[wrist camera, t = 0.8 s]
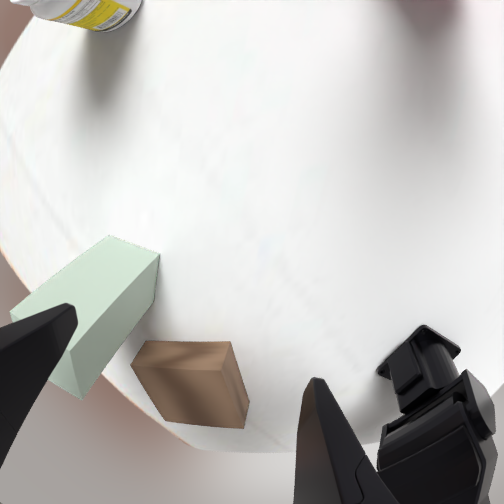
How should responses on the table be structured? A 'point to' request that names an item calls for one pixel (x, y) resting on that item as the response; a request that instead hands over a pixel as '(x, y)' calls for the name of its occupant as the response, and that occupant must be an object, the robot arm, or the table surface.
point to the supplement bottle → (84, 12)
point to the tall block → (96, 306)
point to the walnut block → (193, 382)
